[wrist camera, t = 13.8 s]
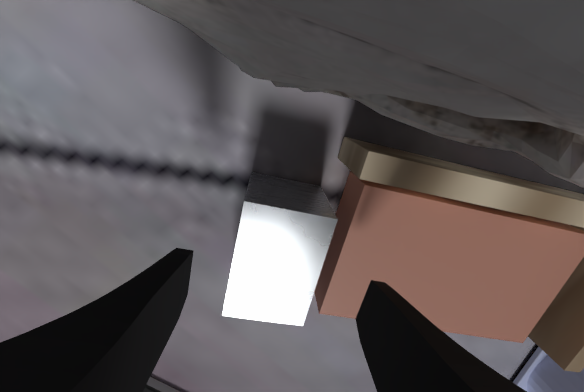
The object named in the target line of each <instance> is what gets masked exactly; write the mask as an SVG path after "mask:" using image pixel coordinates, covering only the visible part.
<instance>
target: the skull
mask: <svg viewBox="0 0 584 392" xmlns="http://www.w3.org/2000/svg"><path fill="white" fill-rule="evenodd" d="M134 1H136V2H138V3H140V4H142V5H144V6H146V7H148V8H150V9H152V10H154V11H156V12H158V13H160V14H162V15H164V16H166V17H168V18H171V19H173V20H175V21H177V22H178V23H180V24H182V25H183V26H185V27H187V28H188V29H190V30H191V31H193V32H194V33H195V34H197V35H198V36H199V37H200V38H202V39H203V40H204V41H206V42H207V43H208V44H210V45H211V46H212V47H214V48H215V49H216V50H218V51H219V52H220V53H222V54H223V55H224V56H226V57H227V58H228V59H230V60H231V61H232V62H234V63H235V64H236V65H238V66H239V68H240V69H241V71H243V72H245V73H246V74H248V75H250V76H252V77H253V78H258V79H265V80H271V82H272V83H273V84H274V85H275V86H276V87H292V88H299V89H300V90H302V91H304V92H324V93H331V94H335V95H339V96H343V97H347V98H351V99H355V100H357V101H359V102H361V103H362V104H364V105H366V106H367V107H369V108H371V109H373V110H374V111H376V112H378V113H379V114H381V115H384V116H386V117H389V118H392V119H394V120H397V121H400V122H402V123H405V124H407V125H410V126H413V127H415V128H418V129H421V130H423V131H426V132H429V133H431V134H434V135H436V136H439V137H443V138H447V139H450V140H454V141H457V142H461V143H465V144H468V145H472V146H478V147H485V148H492V149H499V150H507V151H513V152H515V153H517V154H519V155H521V156H523V157H525V158H527V159H529V160H531V161H533V162H535V163H536V164H537V165H538V166H540V167H541V168H542V169H544V170H545V171H546V172H548V173H549V174H551V175H553V176H555V177H558V178H560V179H563V180H566V181H568V182H571V183H573V184H575V185H578V186H580V187H582V188H584V0H134Z"/></svg>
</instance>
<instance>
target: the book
mask: <svg viewBox="0 0 584 392" xmlns="http://www.w3.org/2000/svg"><path fill="white" fill-rule="evenodd" d="M336 217H337V219H338V220H337V223H336V226H335V230H334V233H333V236H332V239H331V242H330V245H329V248H328V251H327V254H326V257H325V260H324V263H323V266H322V269H321V272H320V276H319V279H318V282H317V285H316V288H315V291H314V292H315V296H316V301H317V306H318V310H319V314H326V315H333V316H340V317H347V318H354V319H356V316H357V314H358V311H359V309H360V306H361V304H362V301H363V299H364V296H365V294H366V291H367V289H368V286H369V284H370V281H371V280H374V281H380V282H385V283H386V284H388V285H389V286H390V287H392V288H393V289H394V290H395V291H396V292H398V293H399V294H400V295H401V296H402V297H403V298H404V299H406V300H407V301H408V302H409V303H410V304H411V305H412V306H413V307H415V308H416V309H417V310H418V311H419V312H420V313H421V314H423V315H424V316H425V317H426V318H427V319H428V320H429V321H431V322H432V323H433V324H434V325H435V326H437V327H438V328H439V329H440V330H441V331H444V332H451V333H458V334H465V335H471V336H478V337H485V338H492V339H499V340H506V341H513V342H520V343H523V342H524V341H525V339H526V338H527V337H528V335H529V334H530V332H531V331H532V329H533V328H534V327H535V325H536V324H537V322H538V321H539V320H540V318H541V317H542V315H543V314H544V312H545V311H546V310H547V308H548V307H549V305H550V304H551V302H552V301H553V300H554V298H555V297H556V295H557V294H558V293H559V291H560V290H561V288H562V287H563V285H564V284H565V283H566V281H567V280H568V278H569V277H570V276H571V274H572V273H573V271H574V270H575V268H576V267H577V266H578V264H579V263H580V261H581V260H582V259H583V257H584V231H582V230H580V229H577V228H575V227H573V226H571V225H568V224H564V223H560V222H555V221H550V220H546V219H541V218H537V217H532V216H527V215H523V214H518V213H514V212H509V211H504V210H500V209H495V208H491V207H486V206H481V205H477V204H472V203H468V202H463V201H458V200H454V199H449V198H445V197H440V196H435V195H431V194H426V193H422V192H417V191H412V190H408V189H403V188H399V187H394V186H389V185H385V184H380V183H376V182H371V181H366V180H362V179H359V178H358V177H357V176H356V175H355V174H354V173H353V172H352V171H350V173H349V176H348V179H347V182H346V185H345V188H344V191H343V194H342V197H341V200H340V203H339V206H338V210H337V213H336Z"/></svg>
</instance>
